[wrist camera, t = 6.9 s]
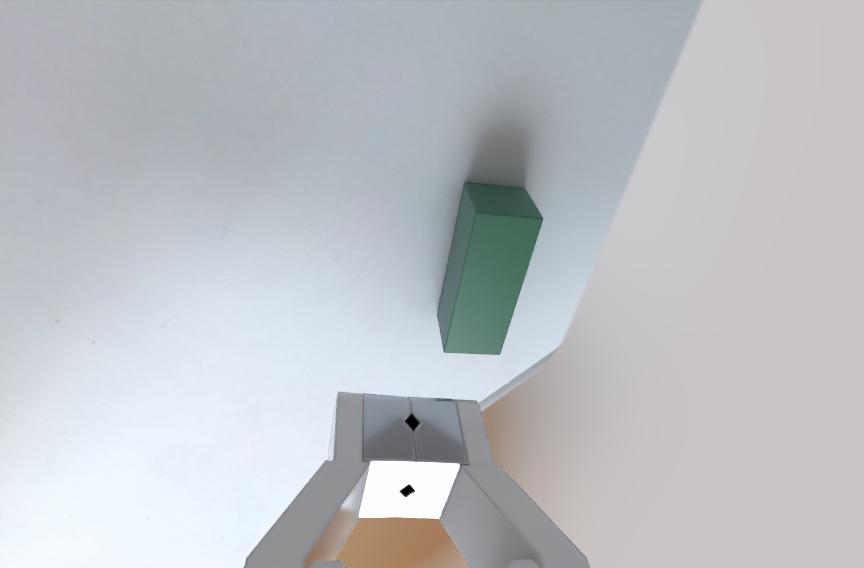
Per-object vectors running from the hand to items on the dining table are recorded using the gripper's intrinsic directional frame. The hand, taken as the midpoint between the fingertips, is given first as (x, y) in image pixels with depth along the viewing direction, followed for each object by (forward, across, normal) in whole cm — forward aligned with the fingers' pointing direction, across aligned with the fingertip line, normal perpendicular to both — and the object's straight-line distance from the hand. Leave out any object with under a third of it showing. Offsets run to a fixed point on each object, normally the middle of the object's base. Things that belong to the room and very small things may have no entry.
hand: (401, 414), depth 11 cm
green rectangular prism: (+14, -6, +4) cm, 16 cm away
